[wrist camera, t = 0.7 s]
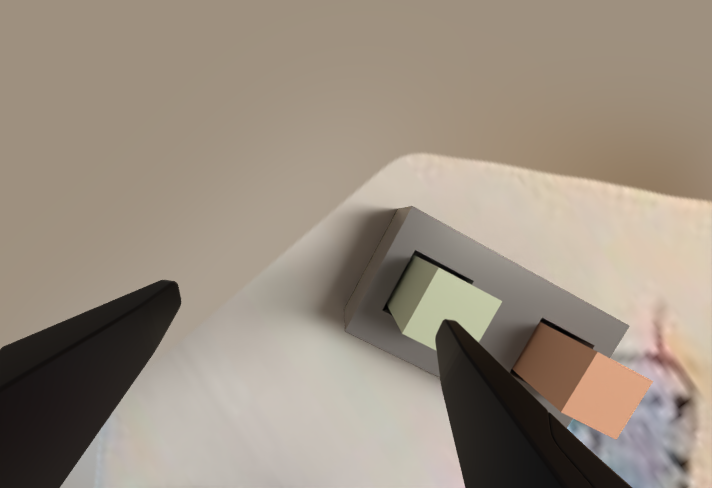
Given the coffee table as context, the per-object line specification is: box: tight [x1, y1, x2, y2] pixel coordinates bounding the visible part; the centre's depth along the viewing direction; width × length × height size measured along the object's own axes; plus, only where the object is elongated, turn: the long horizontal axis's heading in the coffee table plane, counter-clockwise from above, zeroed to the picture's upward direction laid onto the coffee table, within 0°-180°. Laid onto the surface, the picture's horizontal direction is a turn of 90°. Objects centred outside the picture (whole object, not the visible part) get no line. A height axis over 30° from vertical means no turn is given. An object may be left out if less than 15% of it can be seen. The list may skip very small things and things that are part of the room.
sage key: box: [387, 255, 502, 350], centre depth 19 cm, size 5×5×6 cm
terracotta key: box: [512, 322, 653, 439], centre depth 20 cm, size 5×5×6 cm
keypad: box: [344, 206, 629, 428], centre depth 23 cm, size 11×21×5 cm, turn 62°
